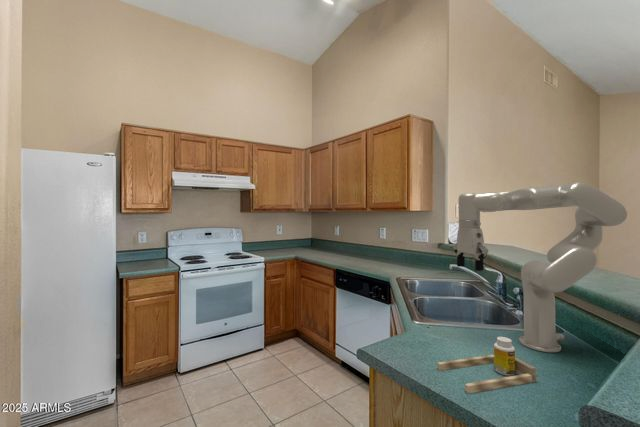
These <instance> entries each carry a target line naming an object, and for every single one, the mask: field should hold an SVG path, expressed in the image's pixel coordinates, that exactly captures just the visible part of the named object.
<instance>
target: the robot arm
mask: <svg viewBox="0 0 640 427" xmlns="http://www.w3.org/2000/svg"><path fill="white" fill-rule="evenodd" d="M569 207H577V208H576V210H575V212H574V219H575V227H574V229H573V231H572V232H570V234H568V235H567V236H566V237H564V238H563V239H562V240H560V241H558V242H557V243H556V244H555V245H553V246H552V247H551V248H549V250H548V251H547V253H546V258H547V261H548V262H549V263H548V262H545V261H541V260H540V261H539V260H531V261H527V262H526V263H524V264H523V265H522V266H521V270H520V278H521V285H522V290H523V335H521V336H519V338H518V340H519V343H520V345H522V346H524V347H526V348H528V349H532V350H534V351H538V352H544V353H559V352H561V351H562V346H561V345H560V343H558V341H560V340H565V335H564V334H563V333H556V298H555V293H561V292H564V291H566V290H567V289H569V288H570V287H572V286H573V285H574V284H577V283H578V282H579V281H581V280H582V279H583V278H584V277H586V276H588V275H589V274H591V272H592V271H593V270H594V269H595V267H596V265H597V261H598V260H597V259H598V258H597V255H596V253H595V252H594V250H595V249H597V248H598V246H600V244H601V243H602V241H603V227H616V226H619V225H621V224H623V223H624V222H625V221H626V220H627V217H628V210H627V209H626V207H625V206H624V205H623V204H622V203H621V202H619V201H618V200H617V199H615V198H613V197H611V196H610V195H608V194H606V193H605V192H604V191H602V190H600V189H599V188H598V187H595V186H593V185H592V184H589V183H587V182H582V181H575V182H571V183H562V184H555V185H554V184H553V185H545V186H533V187H531V186H530V187H525V188H520V189H515V190H510V191H503V192H493V191H492V192H486V193H475V192H474V193H473V192H472V193H470V192H469V193H468V192H467V193H462V194H460V195H458V230H457V235H456V236H457V238H456V243H455V244H453V245H452V247H453V250H454V253H455V257H456V267H458V268H459V267H465V264H466V263H465V262H466V260H465V259H466V258H465V254H466V255H473V256H474V258H475V260H474V270H475V271H477V272H480V271H482V272H483V271H484V261H485V259H486V257H487V256H488V253H489V249H488V248H487V247H486V246H485V239H484V233H483V230H482V228H481V224H482V223H481V212H482V213H495V212H503V211H532V210H533V211H535V210H543V209H555V208H556V209H557V208H569Z"/></svg>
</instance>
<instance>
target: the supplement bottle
mask: <svg viewBox="0 0 640 427" xmlns="http://www.w3.org/2000/svg"><path fill="white" fill-rule="evenodd" d="M493 355H494V363H493V368H494V370H495V372H497V373H498V374H499V375H503V376H505V377H509V376H515V374H516V373H515V357H516V348H515V347H514V346H513V341H512V339H510V338H508V337H505V336H497V337H496V342H495V343H494V344H493Z"/></svg>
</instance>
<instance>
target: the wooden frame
mask: <svg viewBox="0 0 640 427" xmlns="http://www.w3.org/2000/svg"><path fill="white" fill-rule="evenodd" d="M488 364H494V354H488V355H482V356H475V357H474V356H473V357H467V358H461V359H454V360H453V359H452V360H445V361H440V362H437V366H436V368H437V370H438V371H439V372H442V371H447V370H452V369H453V370H454V369H461V368H468V367H474V366H475V367H476V366H480V365H488ZM515 374H517V375H515ZM515 374H514V375H512V376H505V377H504V376H503V377H499V378H492V379H487V380H485V379H484V380H481V381H475V382H469V383H465V384H464V392H466V393H467V394H475V393H479V392H480V393H481V392H485V391H491V390H492V391H493V390H496V389H503V388H508V387H514V386H519V385H525V384H530V383H536V382H538V374H537V367H536V366H533V365H531V364H529V363H527V362H525V361H524V360H522V359H520V358H518V357H516V356H515Z"/></svg>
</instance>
